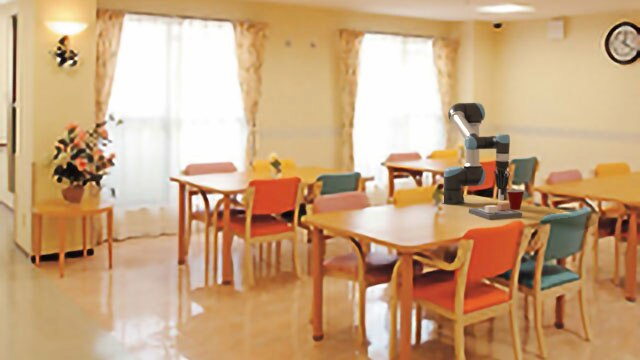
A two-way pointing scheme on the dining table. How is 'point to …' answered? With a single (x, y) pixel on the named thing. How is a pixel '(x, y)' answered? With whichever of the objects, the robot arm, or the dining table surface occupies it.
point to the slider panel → (498, 215)
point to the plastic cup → (515, 198)
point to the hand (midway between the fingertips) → (500, 199)
